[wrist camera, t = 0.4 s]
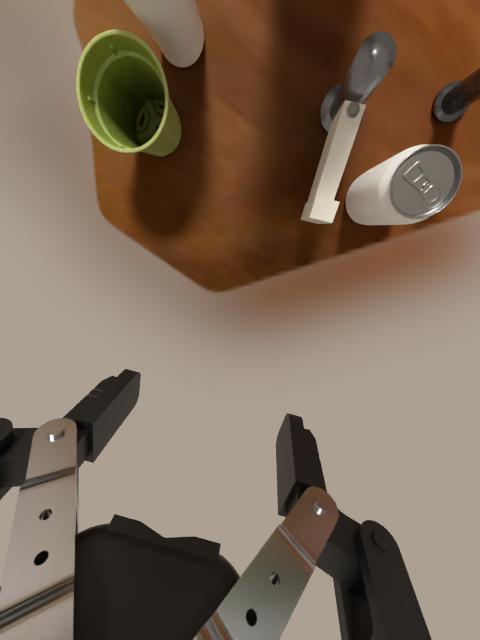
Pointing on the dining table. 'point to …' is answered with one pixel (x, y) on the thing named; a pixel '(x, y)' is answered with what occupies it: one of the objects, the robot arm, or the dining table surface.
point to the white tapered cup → (172, 28)
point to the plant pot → (126, 95)
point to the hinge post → (360, 76)
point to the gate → (333, 164)
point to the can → (406, 187)
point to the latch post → (456, 98)
